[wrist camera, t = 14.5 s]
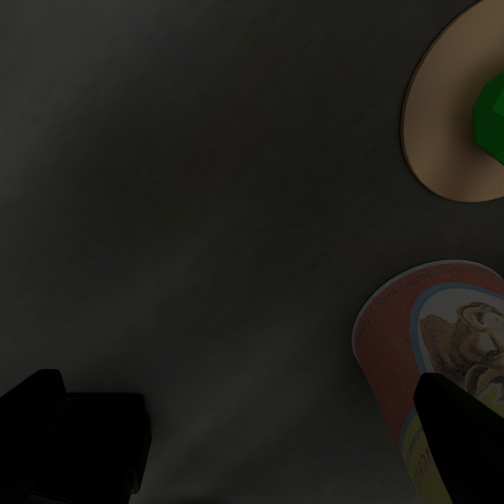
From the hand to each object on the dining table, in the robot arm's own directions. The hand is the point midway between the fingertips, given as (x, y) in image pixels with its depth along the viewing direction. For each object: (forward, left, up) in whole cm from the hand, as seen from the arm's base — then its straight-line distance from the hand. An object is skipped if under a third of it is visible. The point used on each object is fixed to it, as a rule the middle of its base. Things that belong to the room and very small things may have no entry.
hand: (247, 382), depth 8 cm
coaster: (+13, +6, -12) cm, 19 cm away
